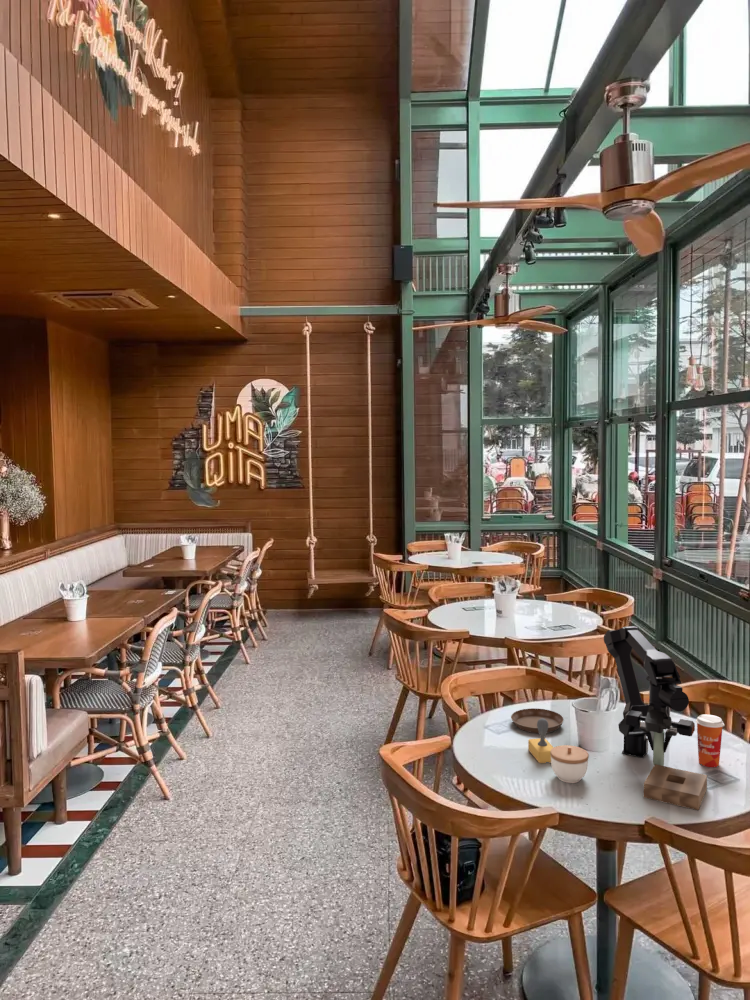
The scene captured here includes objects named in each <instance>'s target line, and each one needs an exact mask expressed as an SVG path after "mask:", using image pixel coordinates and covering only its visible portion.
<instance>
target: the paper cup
mask: <svg viewBox="0 0 750 1000" xmlns="http://www.w3.org/2000/svg"><path fill="white" fill-rule="evenodd" d="M695 723H696V731H697V732H696V733H697V735H696V736H697V753H698V754H697V756H698V763H699V765H701V764H702V765H701V766H703V767H706V768H717V766H718V767H719V766H720V760H721V759H720V758H721V748H722V737H723V727H725V723H724V721H723V719H722V718H721V717H719V716H717V715H713V714H706V713H705V714H700V715H699V716H697V718H696V720H695Z"/></svg>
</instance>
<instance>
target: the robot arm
mask: <svg viewBox="0 0 750 1000" xmlns="http://www.w3.org/2000/svg"><path fill="white" fill-rule="evenodd" d="M640 631H641V630H640V628H639V627H638V626H623V627H620V628H618V629H610V630H607V631H606V633H605V634H604V635H603V643H604V644H605V646H606V650H607V652H608V653H609V654H610V655H611V656H612V658H614V661H615V664H616V669H617V672H618V673H617V674H618V676H619V682H620V685H621V689H622V693H623V697H624V701H625V706H624V708H623V711H622V717H623V718H622V720H621V721H619V722H618V731H619V733H621V734H622V735H623V749H622V751H621V754H623V755H629V756H633V757H637V758H644V757H645V756H646V755H647V753H649V746H650V750H651V751H653V740H654V732H657V733H663V731H664V730H666V731H664V732H665V735H664V754H665V753H666V752H667V749H668V747H669V746H670V745H669V744H670V742H671V739H672V737H675V736H677V734H679V735H680V736H687V737H692V736H693V735H694V732H695V730H696V724H695V723H696V722H694V721H693V720H691V719H690V720H688V719H683V718H680V719H679V721H678V722H677V721H673V719H672V717H671V709H672V710H673V711H675V712H683V711H685V710H686V709H687V707H688V706H689V703H690V699H689V696H688V695H687V693H686V692H684V691H683V687H682V686H680V684H682V681H681V676H680V673H679V671H678V669H677V666H676V663H675V662H674V660H673V658H671V657H670V656H669V655H668V654H667V653H665V652H663V651H662V652H661V651H658V650H657V648H655V647H654V646H653V645H652V643H651V642H650V641H648V639H647V638H646V637H645V636H644V635H643V634H642V633H641V632H640ZM633 650H634V652H635V653H636V654H637V655H638V656H639V657H640V659H641V660H642V661H643V669H644V670H645V673H646V674H647V676H646V678H645V679H646V680H647V681H649V688H648V689H649V691H648V692H649V694H648V696H649V698H648V699H649V700H648V702H649V703H648V704H645V702H644V701H643V699H642V697H641V692H640V688H639V684H638V681H637V676H636V673H635V669H634V666H633V662H632V661H633V660H632V657H631V654H632V651H633Z"/></svg>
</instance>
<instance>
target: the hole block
mask: <svg viewBox="0 0 750 1000" xmlns="http://www.w3.org/2000/svg"><path fill="white" fill-rule="evenodd" d="M707 790H708V775H707V774H703V773H698V772H693V771H688V770H685V769H679V768H675V767H670V766H665V765H664V766H661V765H656V764H655V765H653V767H652V768H651V770H650V772H649V774H648V775H647V777H646V779H645V780H644V782H643V798H644V799H649V800H652V801H657V802H662V803H666V804H670V805H674V806H679V807H683V808H687V809H692V810H695V811H699V810H700V808H701V805H702V802H703V800H704V797H705V795H706V792H707Z"/></svg>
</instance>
